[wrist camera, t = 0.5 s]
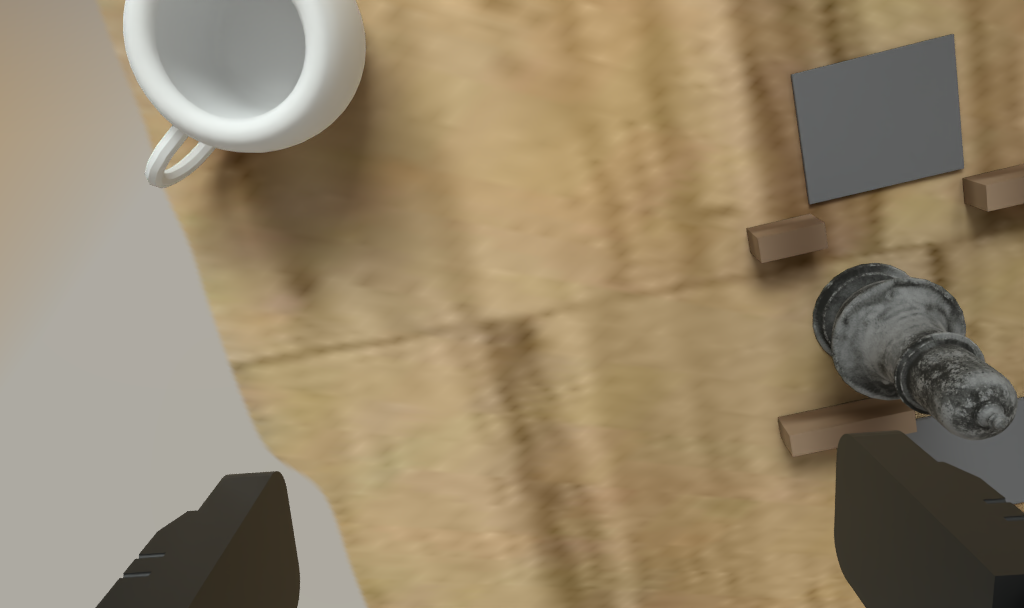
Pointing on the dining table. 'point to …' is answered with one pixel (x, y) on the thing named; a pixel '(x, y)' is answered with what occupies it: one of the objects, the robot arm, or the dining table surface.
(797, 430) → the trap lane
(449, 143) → the dining table surface
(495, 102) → the dining table surface
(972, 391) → the grey chess piece
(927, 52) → the pads
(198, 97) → the mug
